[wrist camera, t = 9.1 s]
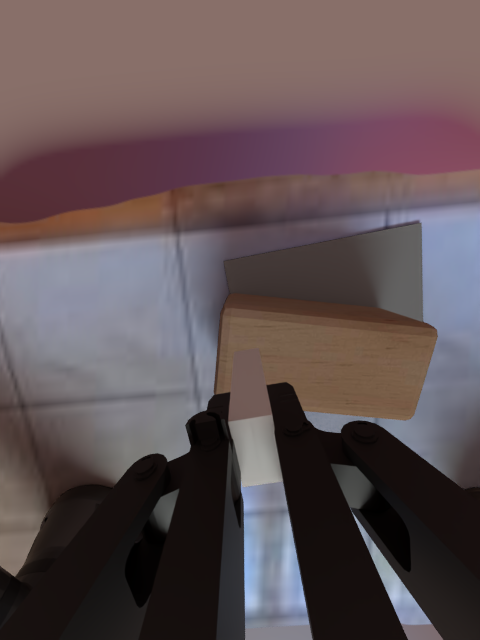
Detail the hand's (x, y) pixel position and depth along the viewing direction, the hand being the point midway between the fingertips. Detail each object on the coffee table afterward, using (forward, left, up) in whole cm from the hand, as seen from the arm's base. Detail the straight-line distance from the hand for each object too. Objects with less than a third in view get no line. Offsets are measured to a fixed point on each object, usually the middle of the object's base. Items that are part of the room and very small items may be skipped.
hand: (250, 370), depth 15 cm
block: (-3, -2, -12) cm, 13 cm away
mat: (+10, 0, -17) cm, 20 cm away
